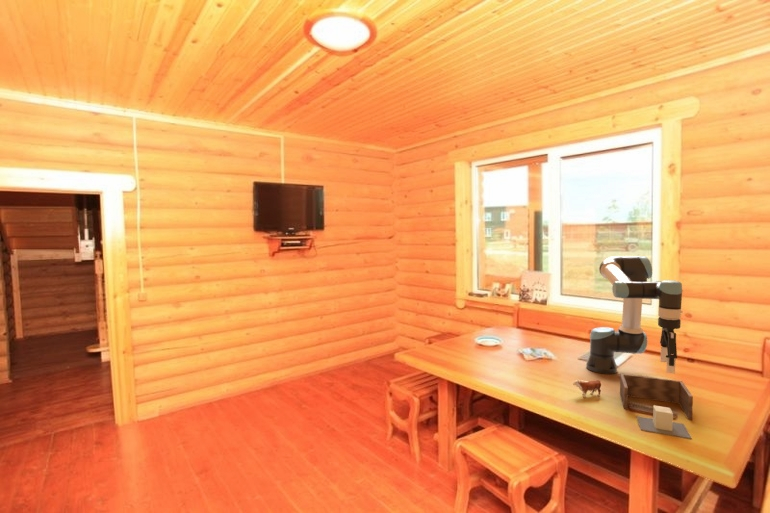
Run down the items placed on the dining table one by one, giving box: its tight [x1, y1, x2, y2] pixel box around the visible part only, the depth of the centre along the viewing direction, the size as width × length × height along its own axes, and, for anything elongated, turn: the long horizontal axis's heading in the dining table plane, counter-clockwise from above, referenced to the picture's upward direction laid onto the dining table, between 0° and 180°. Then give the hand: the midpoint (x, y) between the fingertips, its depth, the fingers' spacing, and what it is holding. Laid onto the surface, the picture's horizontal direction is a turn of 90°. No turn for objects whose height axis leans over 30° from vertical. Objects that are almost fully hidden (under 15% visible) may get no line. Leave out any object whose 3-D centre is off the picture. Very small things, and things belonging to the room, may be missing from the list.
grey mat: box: [636, 415, 692, 440], centre depth 155 cm, size 16×12×1 cm
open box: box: [619, 373, 694, 421], centre depth 173 cm, size 24×18×10 cm
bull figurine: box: [572, 379, 602, 399], centre depth 185 cm, size 4×13×8 cm, turn 95°
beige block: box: [652, 404, 674, 431], centre depth 155 cm, size 6×6×7 cm
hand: (667, 367), depth 164 cm, fingers open, 13 cm apart
